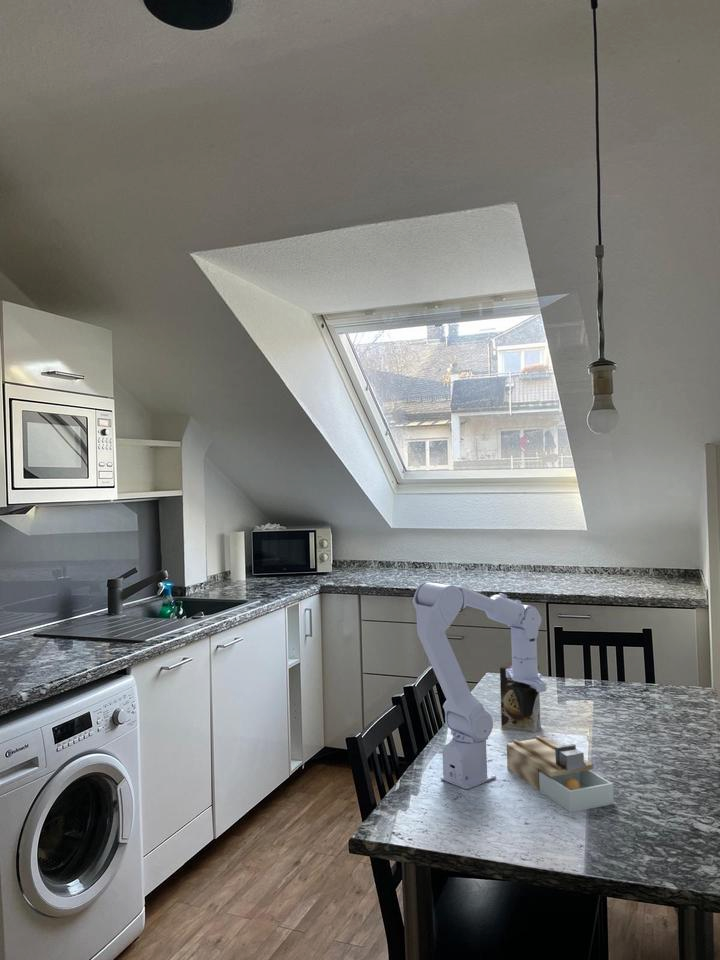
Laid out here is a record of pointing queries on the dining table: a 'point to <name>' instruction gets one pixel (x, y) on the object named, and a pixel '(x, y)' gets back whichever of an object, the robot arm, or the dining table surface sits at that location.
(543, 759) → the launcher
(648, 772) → the dining table surface
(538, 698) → the coffee box
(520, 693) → the robot arm
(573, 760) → the brushed steel stepped cube
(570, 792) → the open box
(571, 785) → the ball
